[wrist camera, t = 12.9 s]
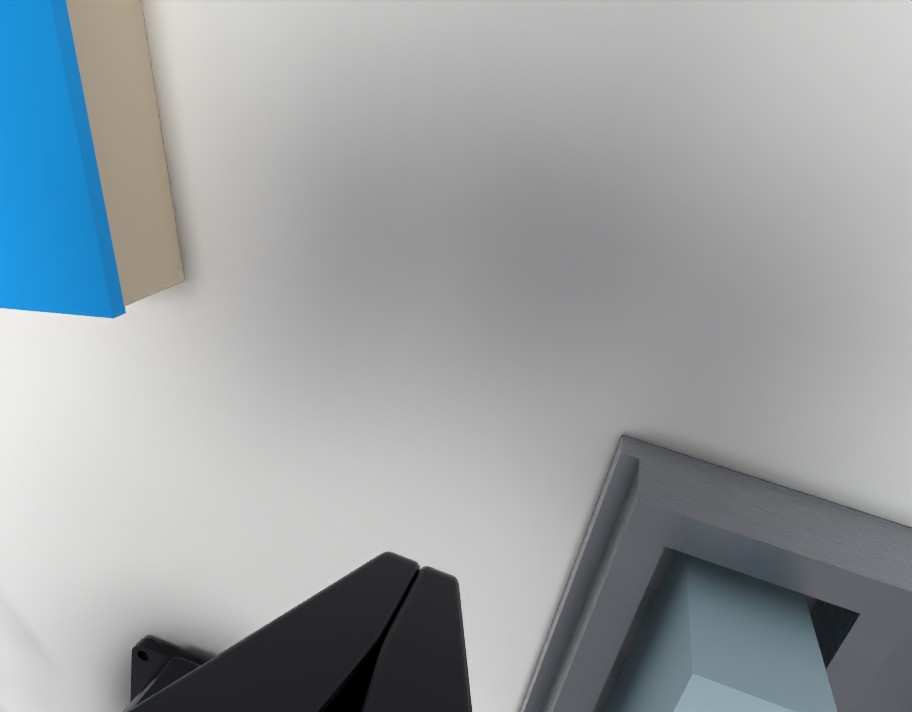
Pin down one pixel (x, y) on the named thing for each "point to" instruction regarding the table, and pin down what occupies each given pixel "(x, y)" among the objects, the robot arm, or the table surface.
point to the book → (81, 160)
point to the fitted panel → (723, 647)
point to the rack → (738, 548)
